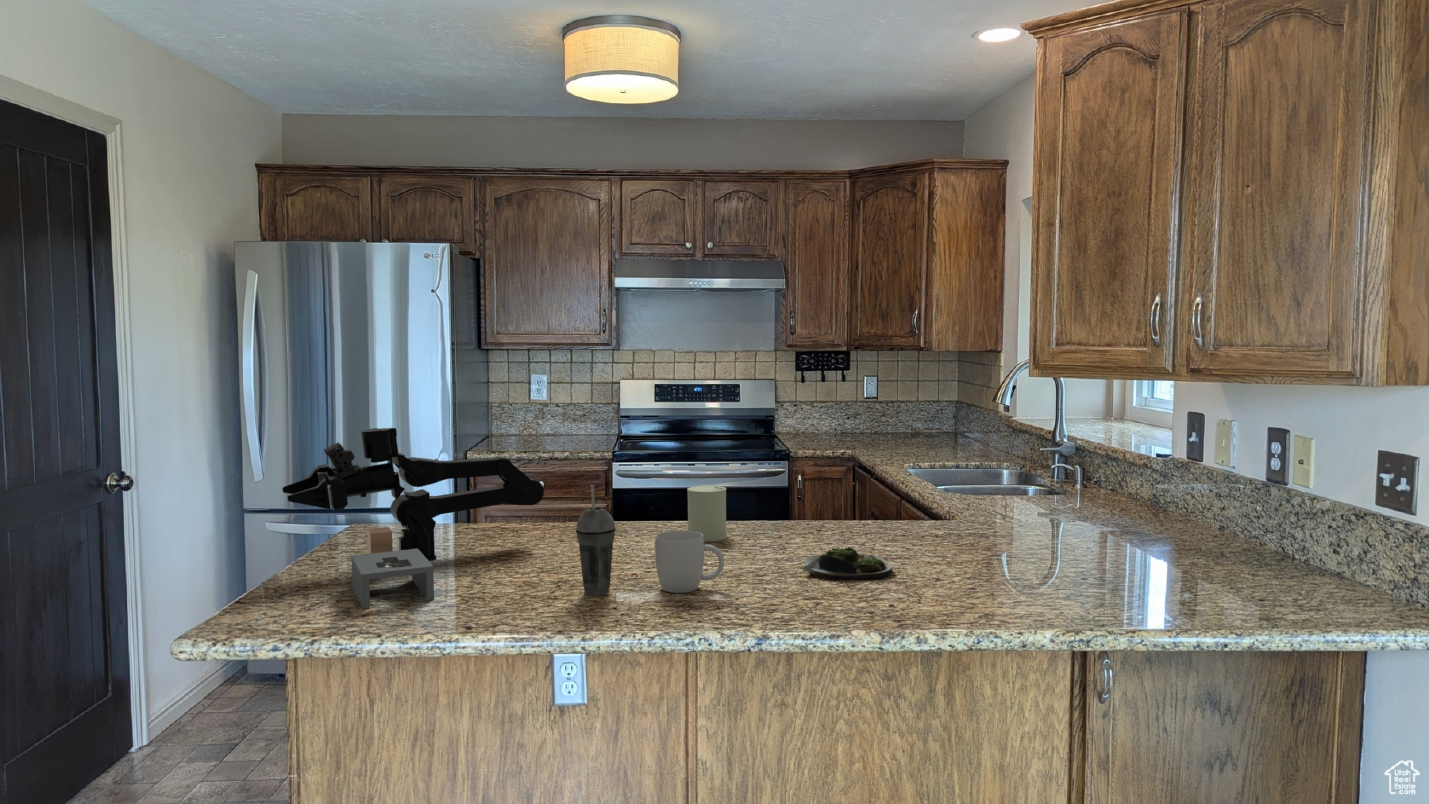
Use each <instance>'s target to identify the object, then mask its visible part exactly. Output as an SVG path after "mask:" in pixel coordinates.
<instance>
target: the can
mask: <svg viewBox="0 0 1429 804" xmlns="http://www.w3.org/2000/svg"><path fill="white" fill-rule="evenodd" d="M686 490H687V531H695V532H700V533H702V534H703V536H704V543H705V542H719V541H723V540H725V539H727V537H728V535H727V487H724V486H719V485H695V486H690V487H688V488H687V489H686Z"/></svg>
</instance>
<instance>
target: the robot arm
mask: <svg viewBox="0 0 1429 804" xmlns="http://www.w3.org/2000/svg"><path fill="white" fill-rule="evenodd" d="M360 433H361V441H362V449H363V455H364V456H363V457H364V459H369V461H370V463H371V464H372V465H367V466H359V465H358V464H353V460H354V459H355V454H354V452H353V451H352V450H351V449H345V448H344V446H343V445H342V444H341V443H340V442H336V443H334V444H332V445H330V446H328V447H325V448H324V449H323V451H324V453H325V455H326V456H328V459H329V460H330V462H331V464H332V465H333V466H334V467H331V466H329V465H328V464H325V463H324V464H319V465H316V467H314V468H313V469H312V471H311V473H310V474H309V475H308V476H306V477H304V478H301V479H299V480H297V481H295V482H292V483H290V484H288V485H287V484H286V485H285V486H283V487H282V493H284V494H289V495H288V496H287V502H289V503H294V504H300V505H306V506H311V507H315V508H316V507H317V508H319V509H325V510H328V511H329V510H332V511H333V512H336V511H341V510H345V508H346V506H348V504H349V502H348V499H349V498H354V497H358V496H359V497H360V498H366V497H367V495H371V494H375V493H381V492H388V491H391V496H392V497H393V498H394V499H393V501H392V502H391V505H390V513H391V516H392V517H393V519H395V520H396V521H398V522H399V523H400V525H401V527H402V528H403V529H401V530H400V532H401V533H400V534H401V536H399V537H398V551H400V550H409V549H419V551H420V552H421V553H422V554H423V555H424V556H425V557H426V559H427V560H428V561H429V560H436V559H438V558H437V555H436V554H435V553H436V552H435V548H436V547H435V528H436V526H437V524H436V523H437V521H435V519H434V518H436V517H438V516H441V515H445V514H452V513H457V512H463V511H469V510H475V509H482V508H488V507H493V506H494V507H495V506H500V505H509V506H535V505H538V504H539V503H540V502H541V501H542V499H543V497H544V495H545V494H544V493H545V489H544V486H543V484H542V483H541V482H539V481H538V480H537V479H534V478H531V477H529V476H527V475H526V474H525V473H524V472H523V471H522V470H520V469H519V468H518V467H517V466H516V465H514V464H513V463H512V461H511V460H510V459H508V458H506V457H504V456H499V455H498V456H494V457H486V458H470V459H469V458H468V459H454V460H441V459H432V458H426V457H425V458H423V457H414V456H412V457H408V458H407V457H406V455H405V454H403V453H401V452H399V447H398V439H397V436H398V433H397V428H395V427H384V428H377V427H374V428H368V429H364V430H361V431H360ZM383 462H386V463H383ZM373 463H374V465H373ZM375 463H379V464H375ZM394 465H395V466H396V468H397V469H398V471H395V467H394ZM494 476H497V477H498V478H499V479H500V480H501V481H502V482H503V483H501V484H499V485H496V486H491V487H484V488H478V489H472V490H466V491H460V492H452V493H447V494H440V495H430V492H429V491H427V490H426V489H424V488H422V487H425V486H429V485H433V484H434V485H435V484H436V483H439V482H441V481H445V480H453V479H463V478H464V479H467V478H477V477H478V478H479V477H480V478H481V477H494ZM400 478H401V480H402V481H403V482H404V483H406V484H408V485H409V486H411V487H415V488H421V489H417V490H414V491H405V490H406V488H405V487H403V486H402V485H401V481H400ZM402 493H403V494H402Z"/></svg>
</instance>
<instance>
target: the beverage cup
mask: <svg viewBox="0 0 1429 804" xmlns="http://www.w3.org/2000/svg"><path fill="white" fill-rule="evenodd" d="M590 493H591V495H590V496H591V507H590V508H588V509H586V510H584V511H583V512H582V513H581V514H580V515H579V517H578V520H577V524H576V529H575V532H576V538H577V543H578V547H579V548H578V549H579V555H580V567H581V576H582V584H583V590H584V595H586V596H589V597H590V596H591V597H600V596H605V595H608V594H609V593H610V585H611V577H612V576H611V575H612V562H613V561H612V560H613V549H614V548H613V547H614V541H615V536H616V530H617V529H616V525H615V520H614V518H613V516H612V515H611V513H609V512H608V511H607V510H606V509H604V508H602V507H596V502H595V490H594V484H590Z"/></svg>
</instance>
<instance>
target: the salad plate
mask: <svg viewBox="0 0 1429 804" xmlns="http://www.w3.org/2000/svg"><path fill="white" fill-rule="evenodd" d="M804 565H805V566H804V567H803V570H802V571H805V572H806V573H809V574H811V575H812V576H813V577H815V578H818V579H823V580H829V581H871V580H872V581H873V580H881V579H884V578H887V577H889V575H891V574H892V573H893V565H891V564H890V563H888V562H887V561H886V560H885V559H884V558H882V556H880V555H879V556H878V555H875V554H868V553H866V554H865V553H859V552H857V551H856V549H855V548H853V547H850V546H848V547H845V548H840V546H836V547H832V548H831V549H828V550H827V551H826V552H824V553H823V554H820V555H819V554H818V555H812V556H807V557H805V558H804Z"/></svg>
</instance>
